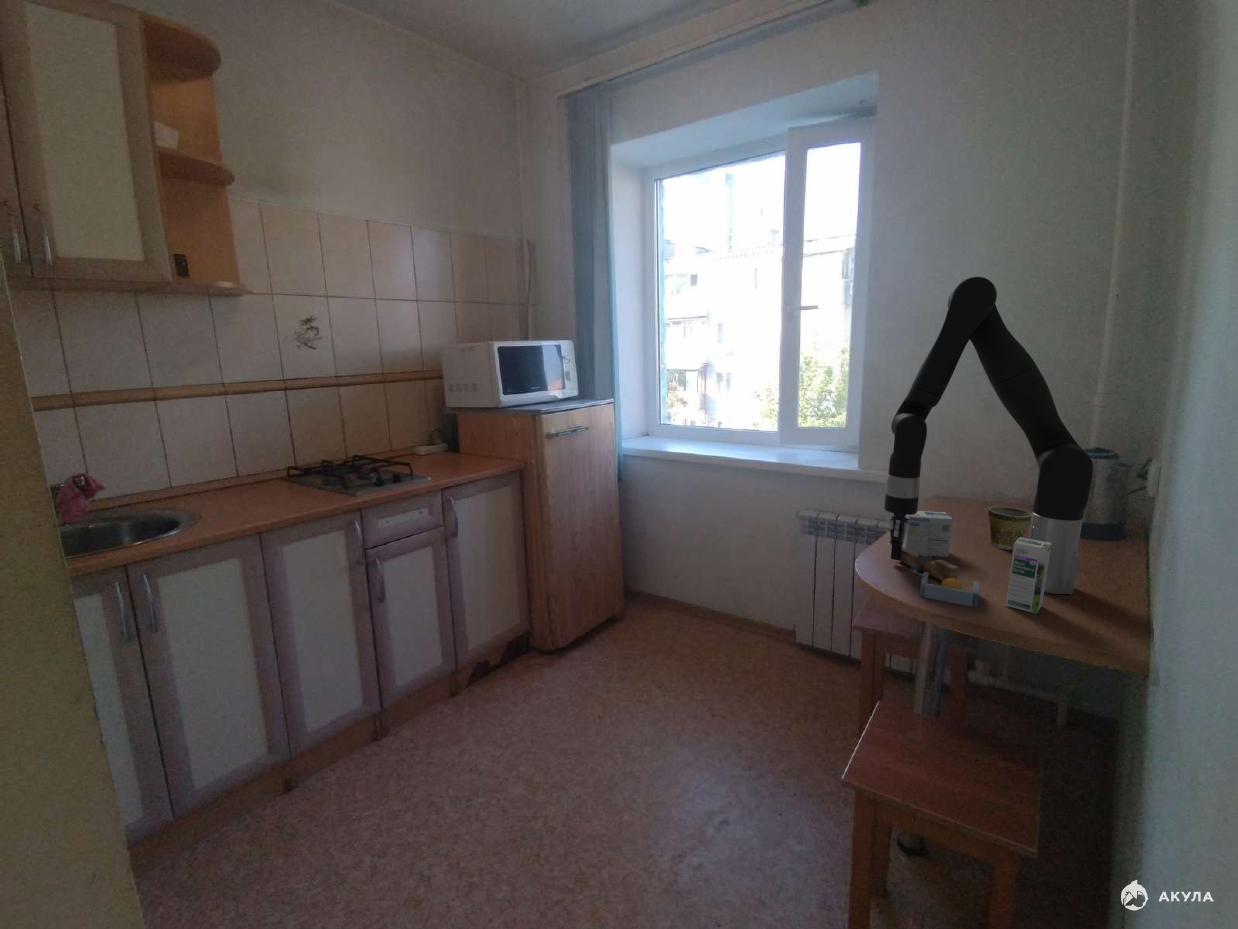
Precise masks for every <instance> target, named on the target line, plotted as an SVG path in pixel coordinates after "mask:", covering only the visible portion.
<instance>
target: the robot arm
mask: <svg viewBox="0 0 1238 929" xmlns="http://www.w3.org/2000/svg"><path fill="white" fill-rule="evenodd" d="M997 297H998V293H997V288H996V286H995V284H994V283H993V282H992V281H991V280H989V279H988V278H986V277H984V276H971V277H969V278H965V279H964V280H962V281H960V282H959V283H957V284H956V286H955V287H953V289H952V290H951V292H950V294H949V296H948V299H947V312H946V315H945V319H944V322H943V324H942V326H941V328H940V331H939V333H938V336H937V338H936V340H935V341H934V343H933V345H932V347H931V349H930V350H929V351H928V354H927V355H926V357H925V359H924V361H923V363H922V364H921V366H920V368H919V370H918V371H917V374H916V376H915V378H914V379H913V382H912V384H911V386H910V388H909V391H908V394H907V395H906V397H905V398H904V400H903V401H902V403H901V405H900V406H899V407H898V409H897V411H896V413H895V414H894V416H893V418H892V420H891V424H890V425H891V426H890V429H891V431H892V434H893V435H894V442H893V452H892V453H891V454H890V457H889V462H888V463H889V465H888V475H887V479H886V485H885V493H884V494H885V495H884V496H885V497H884V504H883V508H884V510H885V511H886V512H888V513H891V514H893V516H891V518H890V519H889V526H890V532H889V536H890V541H889V543H890V545H891V552H890V559H891V560H892V561H893V560H894V561H899V560H900V558H901V551H902V545H903V543H904V541H903V540H904V538H905V535H906V531H907V525H908V522H909V518H906V515H913V514H915V513H917V511H919V510H918V509H919V508H918V507H919V500H920V499H919V498H920V488H921V481H920V480H921V479H920V478H921V468H922V456H923V453H924V450H925V446H926V440H927V436H928V426H927V422H926V420H927V418H928V416H929V414H930V413H931V411H932V409H933V408H935V407H936V406H937V405H938V404H939V402H940V401H941V399H942V397H943V395H944V393H945V391H946V389H947V387H948V386H949V383H950V381H951V378H952V376H954V375H953V374H954V372H955V370H956V367H957V365H958V363H959V360H960V359H961V356H962V354H963V353H964V350H965V349H966V346H967V345H968V343H969V342H971V343H972V345H973V348H974V349H975V352H976V354H977V357H978V359H979V361H980V364H981V366H982V367H983V368H982V369H983V370H984V372H985V374H986V377H987V379H988V380H989V383H990V384H991V387H992V388H993V390H994V392H995V394H996V396H997V397H998V398H999V401H1000V402H1001V404H1002V405H1003V407H1004V408H1005V410H1006V411H1007V412H1008V414H1009V415H1010V416H1011V418H1012V419H1013V420H1014V421H1015V422H1016V423H1017V425H1018V426H1019V427H1020V429H1021V430H1022V432H1023V433H1024V435H1025V438H1026V439H1027V442H1029V445H1030V448H1031V450H1032V452H1033V455H1034V458H1035V460H1036V462H1037V467H1038V469H1039V471H1038V472H1039V473H1038V478H1037V479H1038V480H1037V487H1036V492H1035V496H1034V499H1033V502H1032V510H1031V514H1032V515H1031V520H1030V522H1029V529H1028V530H1029V531H1028V537H1027V539H1032V540H1037V541H1042V542H1049V543H1051V550H1050V556H1049V563H1048V570H1047V576H1046V583H1045V589H1044V593H1047V594H1055V595H1057V594H1058V595H1064V594H1066V595H1073V593H1074V587H1075V581H1076V574H1077V570H1078V569H1077V568H1078V563H1079V556H1080V555H1079V554H1080V553H1079V551H1078V549H1079V544H1080V538H1081V531H1082V526H1083V521H1084V520H1083V519H1084V513H1085V510H1086V508H1087V506H1088V503H1089V497H1090V492H1091V488H1092V487H1091V486H1092V481H1093V476H1094V463H1093V460H1092V458H1091V456H1090V455H1089V454H1088V453H1087V452H1086V451H1085V450H1084V448H1082V447H1081V446H1080V444H1078V442H1077V441H1076V439H1075V438H1074V437H1073V435H1072V434H1071V433H1070V431H1069V430H1068V429H1067V427H1066V426H1065V424H1064V423H1063V421H1062V419H1061V417H1060V415H1059V413H1058V411H1057V407H1056V404H1055V401H1054V398H1053V396H1052V393H1051V391H1050V387H1049V385H1048V383H1047V381H1046V380H1045V377H1044V375H1043V374H1042V371H1040V369H1039V367H1038V365H1037V364H1036V362H1035V361H1034V359H1033V358H1032V356H1031V355H1030V354H1029V352H1028V351H1027V349H1025V347H1023V345H1022V344H1021V343H1020V342H1019V340H1017V339H1016V337H1015V336H1014V335H1012V333H1011V332H1010V331H1009V329H1008V328H1007V326H1006V325H1005V322H1004V321H1003V319H1002V316H1001V314H1000V312H999V309H998V308H997V305H996V302H997Z"/></svg>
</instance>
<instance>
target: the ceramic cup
mask: <svg viewBox="0 0 1238 929" xmlns="http://www.w3.org/2000/svg"><path fill="white" fill-rule="evenodd" d="M987 509H988V510H987V512H988V513H987V514H988V523H989V532H990V544H991V546H994V547H995V548H998V549H1002V550H1008V551H1013V548H1014V543H1015V542H1016V541H1017V540H1018V539H1019V538H1020V537H1023V538H1024V536H1025V533H1026V530H1027V529H1028V528H1029V526H1030V522H1031V515H1032V512H1030V511H1029V510H1025V509H1021V508H1017V507H1013V506H1012V507H1010V506H1000V505H999V506H991V507H988V508H987Z"/></svg>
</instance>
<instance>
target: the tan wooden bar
mask: <svg viewBox="0 0 1238 929" xmlns="http://www.w3.org/2000/svg"><path fill="white" fill-rule="evenodd" d="M932 557H933V556H931V555H929V554H926V553H919V554H918V553H916V552H913V551H911V550H909V549H907V548H904V547H902V551H901V558H900V560H898V561H899V562H902V563H904V564H906V565H908V566H910V567H914V568H916V569H917V570H918V571H921V572H927V573H929V575H931V576H933V577H932V578H936V579H937V580H939V581H941V582H943V581H944V580H945V579H947V578H954V579H956V580H958V578H959V570H960V569H959V568H960V567H959V566H957V565H954V564H952V563H951V562H948V561H945V560H943V559H937V560H933V559H932Z"/></svg>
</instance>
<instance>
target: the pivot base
mask: <svg viewBox="0 0 1238 929" xmlns="http://www.w3.org/2000/svg"><path fill="white" fill-rule="evenodd" d="M909 572H910V573H911V574H913V575H915V576H918V575H919V576H920V577H923V573H924V572H921V571H918V570H917V569H916V568H914V567H912V566H910V567H909ZM928 578H934V577H933V576H931V575H929V574H928Z"/></svg>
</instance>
